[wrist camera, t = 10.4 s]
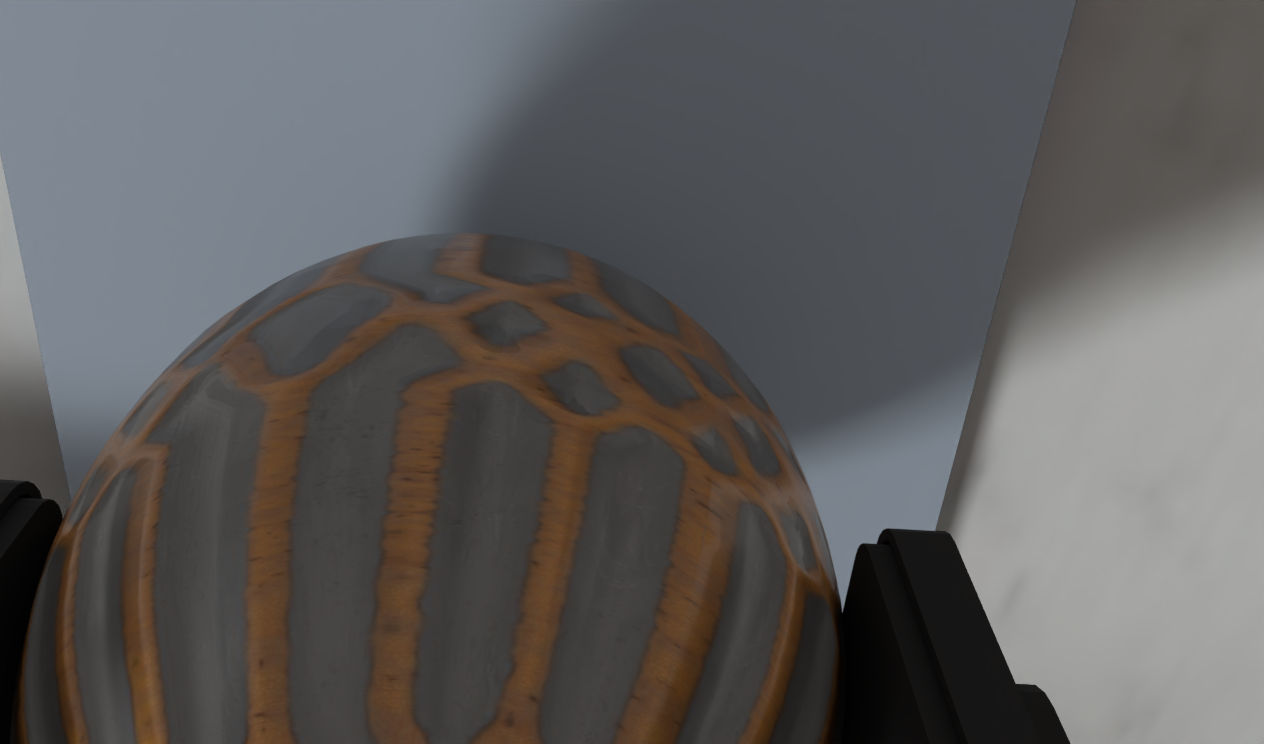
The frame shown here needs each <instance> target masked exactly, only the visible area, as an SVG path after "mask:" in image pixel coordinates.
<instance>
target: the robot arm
mask: <svg viewBox="0 0 1264 744" xmlns="http://www.w3.org/2000/svg"><path fill="white" fill-rule="evenodd" d="M62 520H63V518H62V513H61V510H60V507H59V506H58V504H57V503H56V502H55V501H53V500H51V499H42V497H41V494H40V491H39V490H38V488H37V487H36V486H35V485H34V484H33V483H30V482H28V481H14V480H0V744H10V730H11V718H12V709H13V700H14V691H15V683H16V678H17V672H18V667H19V662H20V657H21V652H22V647H23V642H24V637H25V632H26V627H27V622H28V618H29V614H30V611H31V608H32V604H33V601H34V597H35V594H36V590H37V587H38V583H39V580H40V577H41V574H42V571H43V567H44V564H45V561H46V558H47V556H48V553H49V551H50V548H51V546H52V544H53V541H54V539H55V537H56V534H57V532H58V530H59V527H60V525H61V523H62ZM842 616H843V626H844V640H845V654H846V687H845V712H844V724H843V733H842V742H841V744H1070V742H1069V740H1068V737H1067V735H1066V733H1065V731H1064V729H1063V727H1062V724H1061V722H1060V720H1059V718H1058V716H1057V713H1056V711H1055V709H1054V707H1053V705H1052V704H1051V702H1050V700H1049V699H1048V697H1047V695H1046V694H1045V692H1043V691H1042V690H1041V689H1040V688H1038V687H1037V686H1036V685H1027V684H1015V681H1014V679H1013V677H1012V674H1011V672H1010V670H1009V667H1008V665H1007V663H1006V660H1005V658H1004V656H1003V653H1002V651H1001V649H1000V646H999V644H998V642H997V639H996V637H995V635H994V632H993V630H992V628H991V625H990V623H989V621H988V618H987V616H986V614H985V611H984V609H983V607H982V604H981V602H980V600H979V597H978V595H977V593H976V590H975V588H974V586H973V583H972V581H971V579H970V576H969V574H968V572H967V569H966V567H965V565H964V562H963V560H962V558H961V555H960V553H959V551H958V548H957V546H956V544H955V541H954V540H953V538H952V537H951V535H950V534H949V533H947V532H945V531H927V530H909V529H891V528H886V529H884V530H883V531H882V532H881V534H880V535H879V538H878V541H877V544H869V543H863V544H860V546H859V547H858V549H857V552H856V556H855V560H854V564H853V569H852V573H851V577H850V582H849V586H848V590H847V595H846V599H845V604H844V608H843V612H842Z"/></svg>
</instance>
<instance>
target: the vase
mask: <svg viewBox="0 0 1264 744" xmlns="http://www.w3.org/2000/svg"><path fill="white" fill-rule="evenodd" d="M845 687H846V654H845V640H844V626H843V616H842V605H841V599H840V594H839V589H838V584H837V579H836V575H835V570H834V566H833V561H832V557H831V552H830V548H829V544H828V541H827V537H826V534H825V531H824V528H823V525H822V521H821V518H820V515H819V513H818V510H817V507H816V504H815V501H814V498H813V495H812V492H811V489H810V487H809V484H808V482H807V480H806V477H805V475H804V472H803V470H802V468H801V465H800V463H799V461H798V459H797V457H796V455H795V452H794V450H793V448H792V446H791V444H790V442H789V440H788V437H787V436H786V434H785V432H784V430H783V428H782V426H781V424H780V422H779V421H778V419H777V417H776V415H775V414H774V412H773V411H772V409H771V408H770V406H769V405H768V403H767V402H766V400H765V399H764V397H763V396H762V394H761V393H760V392H759V390H758V389H757V388H756V387H755V385H754V384H753V383H752V381H751V380H750V379H749V378H748V376H747V375H746V374H745V373H744V371H743V370H742V369H741V368H740V366H739V365H738V364H737V363H736V361H735V360H734V359H733V358H732V356H731V355H730V354H729V353H728V352H727V351H726V350H725V349H724V348H723V347H722V346H721V345H720V344H719V342H718V341H717V340H716V339H715V338H714V337H713V336H712V335H710V334H709V333H708V332H707V331H706V330H705V329H704V328H703V327H702V326H700V325H699V324H698V323H697V322H696V321H695V320H694V319H692V318H691V317H690V316H689V315H687V314H686V313H685V312H684V311H682V310H681V309H680V308H679V307H677V306H676V305H675V304H674V303H672V302H671V301H670V300H668V299H667V298H665V297H664V296H662V295H661V294H660V293H658V292H657V291H655V290H654V289H652V288H651V287H650V286H648V285H646V284H644V283H642V282H641V281H639V280H637V279H635V278H634V277H632V276H630V275H628V274H626V273H625V272H623V271H621V270H619V269H617V268H615V267H613V266H610V265H608V264H606V263H604V262H601V261H599V260H597V259H595V258H592V257H589V256H586V255H583V254H581V253H578V252H575V251H572V250H569V249H566V248H562V247H558V246H555V245H551V244H548V243H543V242H538V241H533V240H528V239H524V238H518V237H510V236H502V235H494V234H476V233H441V234H430V235H419V236H412V237H406V238H400V239H394V240H388V241H384V242H380V243H376V244H372V245H368V246H364V247H361V248H358V249H355V250H352V251H349V252H346V253H343V254H340V255H337V256H335V257H332V258H329V259H326V260H323V261H321V262H318V263H316V264H314V265H311V266H309V267H306V268H304V269H302V270H299V271H297V272H295V273H293V274H291V275H289V276H287V277H286V278H284V279H282V280H280V281H278V282H276V283H274V284H272V285H271V286H269V287H268V288H266V289H265V290H263V291H261V292H260V293H258V294H257V295H255V296H253V297H252V298H250V299H249V300H247V301H246V302H244V303H242V304H241V305H239V306H238V307H236V308H235V309H233V310H231V311H230V312H228V313H227V314H226V315H224V316H223V317H222V318H220V319H219V320H218V321H217V322H215V323H214V324H213V325H211V326H210V327H209V328H207V329H206V330H205V331H204V332H203V333H202V334H201V335H200V336H199V337H197V338H196V339H195V340H194V341H193V342H192V343H191V344H190V345H189V346H188V347H187V348H186V349H185V350H184V351H183V352H182V353H181V354H180V355H179V356H178V357H177V358H176V359H175V360H174V361H173V362H172V363H171V364H170V365H169V366H168V367H167V368H166V369H165V370H164V371H163V372H162V373H161V374H160V376H159V377H158V378H157V379H156V380H155V381H154V382H153V383H152V385H151V386H150V387H149V388H148V389H147V390H146V391H145V393H144V394H143V395H142V396H141V398H140V399H139V400H138V401H137V403H136V404H135V405H134V406H133V408H132V409H131V410H130V411H129V413H128V414H127V415H126V417H125V418H124V419H123V420H122V422H121V423H120V424H119V426H118V427H117V428H116V430H115V431H114V433H113V434H112V435H111V437H110V438H109V439H108V441H107V442H106V444H105V445H104V447H103V448H102V450H101V451H100V453H99V455H98V456H97V458H96V459H95V461H94V463H93V464H92V466H91V468H90V469H89V471H88V472H87V474H86V476H85V477H84V479H83V481H82V482H81V484H80V486H79V488H78V489H77V491H76V493H75V495H74V496H73V498H72V500H71V502H70V504H69V507H68V509H67V511H66V513H65V516H64V518H63V520H62V523H61V525H60V527H59V530H58V532H57V534H56V537H55V539H54V541H53V544H52V546H51V548H50V551H49V553H48V556H47V558H46V561H45V564H44V567H43V571H42V574H41V577H40V580H39V583H38V587H37V590H36V594H35V597H34V601H33V604H32V608H31V611H30V614H29V618H28V622H27V627H26V632H25V637H24V642H23V647H22V652H21V657H20V662H19V667H18V672H17V678H16V683H15V691H14V700H13V709H12V718H11V730H10V744H841V742H842V733H843V724H844V712H845Z"/></svg>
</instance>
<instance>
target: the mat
mask: <svg viewBox="0 0 1264 744" xmlns="http://www.w3.org/2000/svg"><path fill="white" fill-rule="evenodd" d="M1076 1H1077V0H0V154H1V159H2V164H3V169H4V174H5V179H6V184H7V189H8V194H9V199H10V204H11V208H12V213H13V218H14V223H15V228H16V233H17V238H18V243H19V248H20V253H21V258H22V262H23V267H24V272H25V277H26V282H27V287H28V292H29V297H30V302H31V307H32V312H33V317H34V321H35V326H36V331H37V336H38V341H39V346H40V351H41V356H42V361H43V366H44V371H45V375H46V380H47V385H48V390H49V395H50V400H51V405H52V410H53V415H54V420H55V425H56V429H57V434H58V439H59V444H60V449H61V454H62V459H63V464H64V469H65V474H66V479H67V484H68V488H69V493H70V498H71V500H72V498H73V496H74V495H75V493H76V491H77V489H78V488H79V486H80V484H81V482H82V481H83V479H84V477H85V476H86V474H87V472H88V471H89V469H90V468H91V466H92V464H93V463H94V461H95V459H96V458H97V456H98V455H99V453H100V451H101V450H102V448H103V447H104V445H105V444H106V442H107V441H108V439H109V438H110V437H111V435H112V434H113V433H114V431H115V430H116V428H117V427H118V426H119V424H120V423H121V422H122V420H123V419H124V418H125V417H126V415H127V414H128V413H129V411H130V410H131V409H132V408H133V406H134V405H135V404H136V403H137V401H138V400H139V399H140V398H141V396H142V395H143V394H144V393H145V391H146V390H147V389H148V388H149V387H150V386H151V385H152V383H153V382H154V381H155V380H156V379H157V378H158V377H159V376H160V374H161V373H162V372H163V371H164V370H165V369H166V368H167V367H168V366H169V365H170V364H171V363H172V362H173V361H174V360H175V359H176V358H177V357H178V356H179V355H180V354H181V353H182V352H183V351H184V350H185V349H186V348H187V347H188V346H189V345H190V344H191V343H192V342H193V341H194V340H195V339H196V338H197V337H199V336H200V335H201V334H202V333H203V332H204V331H205V330H206V329H207V328H209V327H210V326H211V325H213V324H214V323H215V322H217V321H218V320H219V319H220V318H222V317H223V316H224V315H226V314H227V313H228V312H230V311H231V310H233V309H235V308H236V307H238V306H239V305H241V304H242V303H244V302H246V301H247V300H249V299H250V298H252V297H253V296H255V295H257V294H258V293H260V292H261V291H263V290H265V289H266V288H268V287H269V286H271V285H272V284H274V283H276V282H278V281H280V280H282V279H284V278H286V277H287V276H289V275H291V274H293V273H295V272H297V271H299V270H302V269H304V268H306V267H309V266H311V265H314V264H316V263H318V262H321V261H323V260H326V259H329V258H332V257H335V256H337V255H340V254H343V253H346V252H349V251H352V250H355V249H358V248H361V247H364V246H368V245H372V244H376V243H380V242H384V241H388V240H394V239H400V238H406V237H412V236H419V235H430V234H441V233H476V234H494V235H502V236H510V237H518V238H524V239H528V240H533V241H538V242H543V243H548V244H551V245H555V246H558V247H562V248H566V249H569V250H572V251H575V252H578V253H581V254H583V255H586V256H589V257H592V258H595V259H597V260H599V261H601V262H604V263H606V264H608V265H610V266H613V267H615V268H617V269H619V270H621V271H623V272H625V273H626V274H628V275H630V276H632V277H634V278H635V279H637V280H639V281H641V282H642V283H644V284H646V285H648V286H650V287H651V288H652V289H654V290H655V291H657V292H658V293H660V294H661V295H662V296H664V297H665V298H667V299H668V300H670V301H671V302H672V303H674V304H675V305H676V306H677V307H679V308H680V309H681V310H682V311H684V312H685V313H686V314H687V315H689V316H690V317H691V318H692V319H694V320H695V321H696V322H697V323H698V324H699V325H700V326H702V327H703V328H704V329H705V330H706V331H707V332H708V333H709V334H710V335H712V336H713V337H714V338H715V339H716V340H717V341H718V342H719V344H720V345H721V346H722V347H723V348H724V349H725V350H726V351H727V352H728V353H729V354H730V355H731V356H732V358H733V359H734V360H735V361H736V363H737V364H738V365H739V366H740V368H741V369H742V370H743V371H744V373H745V374H746V375H747V376H748V378H749V379H750V380H751V381H752V383H753V384H754V385H755V387H756V388H757V389H758V390H759V392H760V393H761V394H762V396H763V397H764V399H765V400H766V402H767V403H768V405H769V406H770V408H771V409H772V411H773V412H774V414H775V415H776V417H777V419H778V421H779V422H780V424H781V426H782V428H783V430H784V432H785V434H786V436H787V437H788V440H789V442H790V444H791V446H792V448H793V450H794V452H795V455H796V457H797V459H798V461H799V463H800V465H801V468H802V470H803V472H804V475H805V477H806V480H807V482H808V484H809V487H810V489H811V492H812V495H813V498H814V501H815V504H816V507H817V510H818V513H819V515H820V518H821V521H822V525H823V528H824V531H825V534H826V537H827V541H828V544H829V548H830V552H831V557H832V561H833V566H834V570H835V575H836V579H837V584H838V589H839V594H840V599H841V605H842V612H843V608H844V604H845V599H846V595H847V590H848V586H849V582H850V577H851V573H852V569H853V564H854V560H855V556H856V552H857V549H858V547H859V546H860V544H863V543H869V544H877V541H878V538H879V535H880V534H881V532H882V531H883V530H884V529H886V528H891V529H909V530H927V531H935V529H936V525H937V522H938V518H939V514H940V510H941V507H942V503H943V499H944V495H945V492H946V488H947V484H948V480H949V477H950V473H951V469H952V465H953V462H954V458H955V454H956V450H957V447H958V443H959V439H960V435H961V432H962V428H963V424H964V420H965V417H966V413H967V409H968V406H969V402H970V398H971V394H972V391H973V387H974V383H975V379H976V376H977V372H978V368H979V364H980V361H981V357H982V353H983V349H984V346H985V342H986V338H987V334H988V331H989V327H990V323H991V319H992V316H993V312H994V308H995V304H996V301H997V297H998V293H999V289H1000V286H1001V282H1002V278H1003V274H1004V271H1005V267H1006V263H1007V259H1008V256H1009V252H1010V248H1011V244H1012V241H1013V237H1014V233H1015V229H1016V226H1017V222H1018V218H1019V214H1020V211H1021V207H1022V203H1023V199H1024V196H1025V192H1026V188H1027V184H1028V181H1029V177H1030V173H1031V169H1032V166H1033V162H1034V158H1035V154H1036V151H1037V147H1038V143H1039V139H1040V136H1041V132H1042V128H1043V124H1044V121H1045V117H1046V113H1047V109H1048V106H1049V102H1050V98H1051V94H1052V91H1053V87H1054V83H1055V79H1056V76H1057V72H1058V68H1059V64H1060V61H1061V57H1062V53H1063V49H1064V46H1065V42H1066V38H1067V34H1068V31H1069V27H1070V23H1071V19H1072V16H1073V12H1074V8H1075V4H1076Z"/></svg>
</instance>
